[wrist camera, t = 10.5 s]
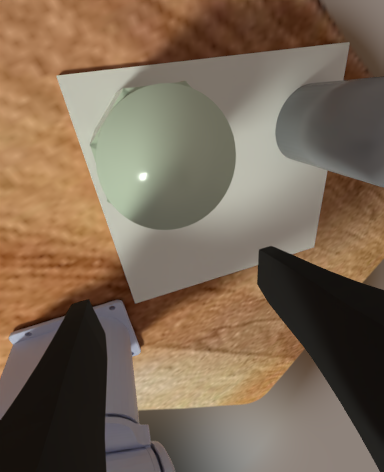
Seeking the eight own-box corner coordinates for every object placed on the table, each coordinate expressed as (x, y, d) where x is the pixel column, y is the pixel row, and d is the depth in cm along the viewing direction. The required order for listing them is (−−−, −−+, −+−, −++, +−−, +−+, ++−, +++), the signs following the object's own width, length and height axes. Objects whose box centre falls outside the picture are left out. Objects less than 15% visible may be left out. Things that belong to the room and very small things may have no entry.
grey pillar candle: (273, 165, 20) (356, 197, 13) (277, 88, 17) (386, 79, 11) (328, 153, 21) (430, 176, 15) (341, 78, 18) (476, 65, 12)
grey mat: (134, 300, 23) (135, 303, 23) (57, 76, 14) (56, 75, 13) (311, 245, 27) (313, 247, 27) (345, 43, 18) (350, 41, 17)
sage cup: (113, 188, 17) (118, 244, 10) (86, 97, 14) (70, 92, 7) (188, 173, 18) (237, 214, 12) (178, 86, 15) (235, 73, 9)
